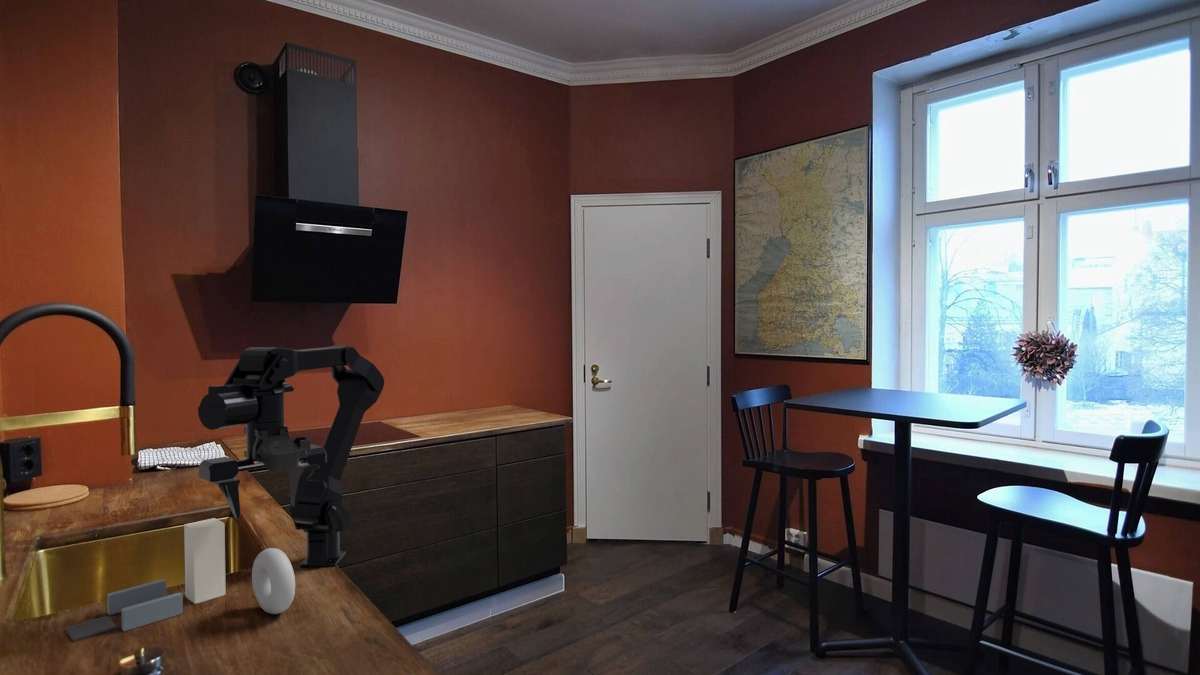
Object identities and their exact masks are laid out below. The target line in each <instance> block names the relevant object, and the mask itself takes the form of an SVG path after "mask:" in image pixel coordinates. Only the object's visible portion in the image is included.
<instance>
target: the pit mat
mask: <svg viewBox="0 0 1200 675" xmlns="http://www.w3.org/2000/svg"><path fill="white" fill-rule="evenodd" d="M64 628H65V629H64V630H65V632H66V633H67V635H68V636H69V637H70V639H71V640H72V641H73V642H76V641H80V640H83V639H86V638H90V637H93V636H97V635H99V634H103V633H106V632H109V631H113V630H116V629H118V625H116V624H115V622H114V621H113V620H112V619H111V617H109V615H104V616H101V617H98V618H94V619H91V620H87V621H83V622H80V623H76V624H73V625H70V626H66V627H64Z"/></svg>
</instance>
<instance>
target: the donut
mask: <svg viewBox="0 0 1200 675" xmlns="http://www.w3.org/2000/svg"><path fill="white" fill-rule="evenodd" d="M251 581H252V582H251V584H252V590H253V594H254V596H255V599H256V601H257V602H258V605H259V606H260V608H261V609H263V611H264V612H266V613H269V614H271V615H279V614H281V613H283V612H284V611H287V610H288V609H289V608H290V606H291V604H292V602H293V600H294V598H295V595H296V594H295V593H296V578H295V572H294V568H293V565H292V563H291V561H290V559H289V558H288V556H287V554H286V553H285V552H284V551H282V550H280V549H279V548H275V547H268V548H266V549H264V550H262V551H261V552H259V553H258V554H257V556H256V557H255V559H254V561H253V565H252V570H251Z"/></svg>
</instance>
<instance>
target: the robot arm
mask: <svg viewBox="0 0 1200 675" xmlns="http://www.w3.org/2000/svg"><path fill="white" fill-rule="evenodd" d="M345 366H347V367H348V368H346V367H345ZM324 368H331V377H332V378H333V380H334V381H335V382H336V383H337V388H336V395H337V399H338V402H339V403H338V404H339V406H338V408H337V410H336V414H335V417H334V419H333V422H332V425H331V427H330V430H329V431H328V435H327V437H326V439H325V442H324V445H323V446H320V445H317V444H313V443H312V444H311V438H310V437H309V436H307V435H303V436H297V437H295V438H290V434H289V428H288V425H287V426H286V425H285V393H292V392H294V390H295V388H294V387H293V386H292V385H291V384H290V383H288V381H286V379H290V378H291V377H292V378H293V377H294V376H295V375H297V373H300V372H303V371H309V370H318V369H324ZM384 385H385V378H384V376H383V374H382V373H381V371H380V370H379V369H378V368H377V367H376V365H375V364H374V363H373V362H371V361H370V360H368V359H367V358H365V357H364V356H362V355H361V354H360V353H359V352H358V351H357V350H356V348H355V347H352V346H351V345H331V346H328V347H327V346H326V347H316V348H305V349H292V348H285V347H278V346H273V347H269V346H268V347H266V346H265V347H263V346H262V347H261V346H257V347H256V346H255V347H254V346H253V347H251V346H250V347H247V348H245V349H244V350H243V351H242V353H241V355H240V357H239V359H238V361H237V364H236V365H235V366H234V368H233V370H232V372H231V373H230V374H229V376H228V378H227V379H226V381H225V383H224V385H209V386H208V387H207V390H208V391H207V392H208V393H207V394H206V395H203V397H202V399H201V400H200V403H199V406H198V407H197V413H198V419H199V421H200V423H201V424H202V426H203V427H204V428H206V429H208V430H210V431H214V430H220V429H226V428H233V427H238V426H243V425H246V426H243V433H244V434H246V450H244V451H243V456H244V458H245V459H239V460H238V459H237V460H236V459H234V458H231V457H227V456H222V457H216V458H215V457H213V458H207V459H203V460H202V461H201V462H200V463H199V466H198V478H199V479H202V480H204V481H207V482H210V483H212V484H214V485H217V487H218V489H220V491H221V493H222V495H223V496H224V498H225V500H226V502H227V504H228V506H229V508H230V511H231V513H232V515H233V517H234V519H236V520H239V519H241V505H240V504H241V503H240V501H241V500H240V494H239V493H240V492H239V486H240V484H241V479H239V478H236V476H237V475H238V474H239V472H245V471H251V470H257V469H262V468H265V469H267V471H269V472H273V473H275V472H279V471H282V470H286V469H287V470H288V469H289V490H290V491H289V492H290V493H289V494H290V498H289V502H290V504H289V509H288V511H289V513H290V517H291V519H292V521H293V525H294V527H295V530H297V531H298V530H300V531H305V533H306V534H305V535H306V557H305V558H304V559H303V560H302V561H301V562H300V563H299V567H301V568H302V567H303V568H304V567H326V566H327V567H328V566H329V567H330V566H336V565H338V563H339V562H340V561H341V559H342V558H343V557H344V556H346V552H347V551H345V550H340V532H343V531H346V529H347V528H349V527H350V524H351V520H352V515H351V513H350V512H348V510H346V509H345V508H344V506H343V505H342V503H343V502H342V501H343V496H344V494H343V489H342V486H341V477H342V475H343V473H344V469H345V468H346V465H347V461H348V459H349V456H350V453H351V451H352V448H353V444H354V443H355V439H356V437H357V434H358V431H359V428H360V426H361V423H362V420H363V418H364V415H365V413H366V412H367V411H368V410H369V409H370V408H371V407H372V406H374V404H376V403H377V401H378V399H379V397H380V395H381V393H382V391H383V390H384ZM330 560H331V561H330Z"/></svg>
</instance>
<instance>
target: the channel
mask: <svg viewBox="0 0 1200 675" xmlns="http://www.w3.org/2000/svg"><path fill="white" fill-rule="evenodd" d="M183 594H184V593H182V592H179V591H178V592H176V593H172V594H168V595H167V580H165V579H164V578H162V579H158V580H155V581H151V582H148V583H147V582H146V583H143V584H139V585H136V586H132V587H128V588H124V589H120V590H116V591H112V592H108V593H107V594H106V601H107V602H106V604H107V605H106V607H107V609H106V610H107V612H106V613H107V614H108V616H111V615H115V614H118V613H121V616H120V618H121V620H120V621H121V630H122V632H126V631H130V630H133V629H137V628H139V627H143V626H146V625H149V624H152V623H157V622H159V621H162V620H165V619H168V618H169V619H170V618H171V617H172V618H173V617H175V616H178V615H183V614H184V607H183V606H184V605H183V604H184V603H183V602H184V600H183V598H184V596H183Z"/></svg>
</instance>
